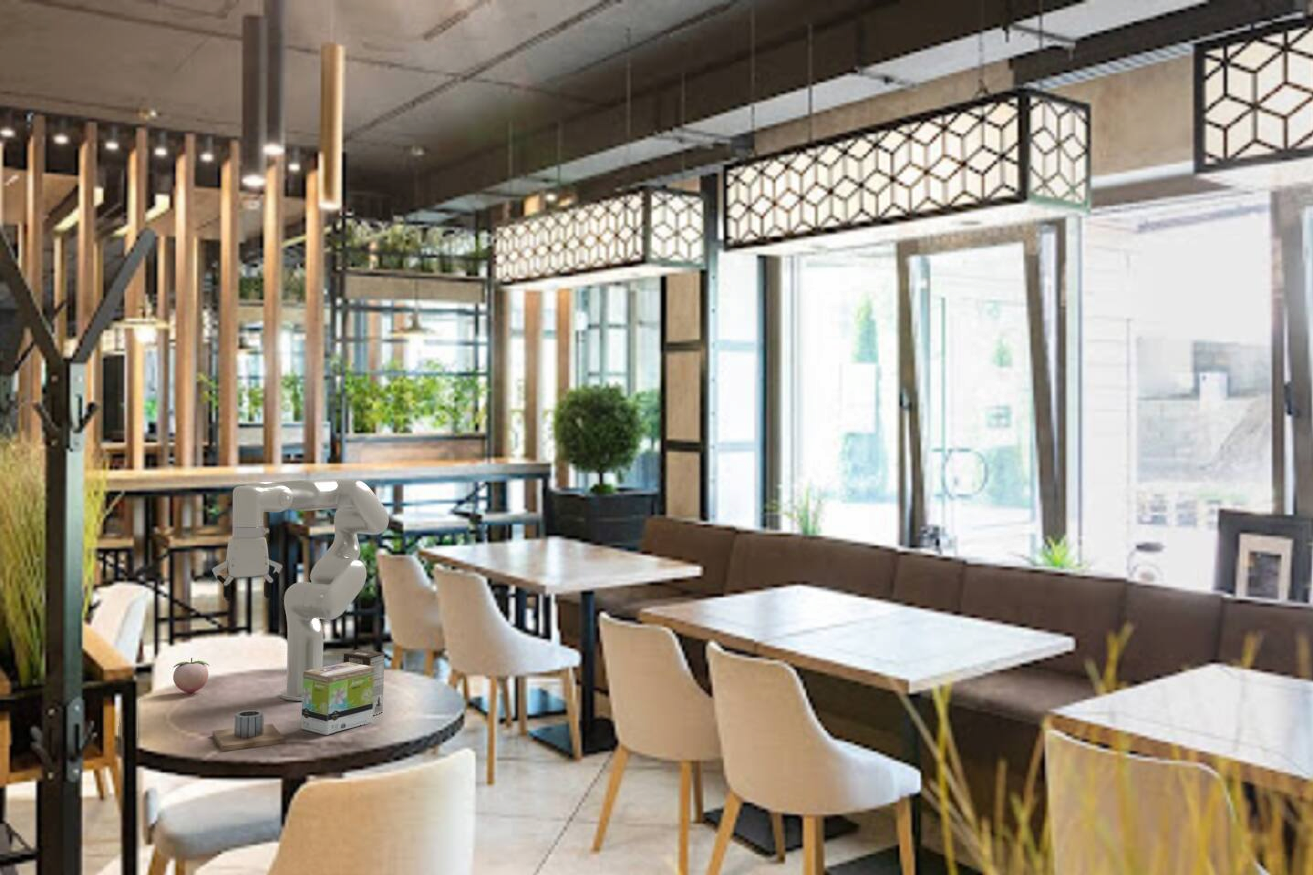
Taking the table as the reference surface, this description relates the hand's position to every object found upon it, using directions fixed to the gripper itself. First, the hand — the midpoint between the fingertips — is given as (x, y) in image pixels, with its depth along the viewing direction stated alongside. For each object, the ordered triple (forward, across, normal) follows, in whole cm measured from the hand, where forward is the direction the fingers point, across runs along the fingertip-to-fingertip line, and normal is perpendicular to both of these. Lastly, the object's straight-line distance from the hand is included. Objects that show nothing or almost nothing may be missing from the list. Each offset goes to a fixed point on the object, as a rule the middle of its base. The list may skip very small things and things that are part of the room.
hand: (247, 598), depth 290 cm
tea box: (+31, -18, +22) cm, 42 cm away
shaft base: (+30, +4, +24) cm, 39 cm away
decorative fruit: (+30, +9, -28) cm, 42 cm away
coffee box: (+31, -27, +13) cm, 43 cm away
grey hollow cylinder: (+29, +4, +24) cm, 38 cm away
